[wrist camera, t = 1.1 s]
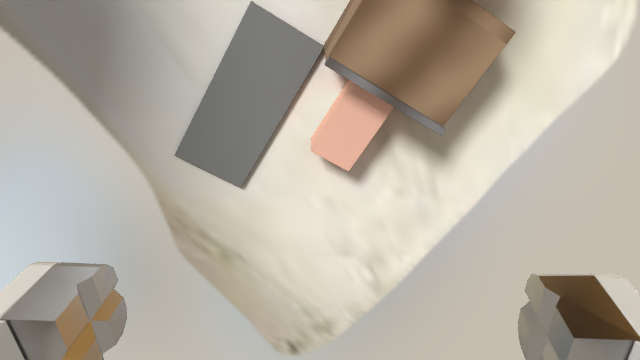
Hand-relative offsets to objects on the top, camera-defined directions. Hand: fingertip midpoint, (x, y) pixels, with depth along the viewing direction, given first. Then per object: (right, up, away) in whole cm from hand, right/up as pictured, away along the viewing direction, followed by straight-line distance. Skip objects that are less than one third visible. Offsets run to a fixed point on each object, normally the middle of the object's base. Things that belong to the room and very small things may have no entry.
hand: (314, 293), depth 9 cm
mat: (-7, +9, +31) cm, 33 cm away
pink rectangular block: (+5, +11, +31) cm, 34 cm away
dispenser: (+7, +15, +29) cm, 33 cm away
